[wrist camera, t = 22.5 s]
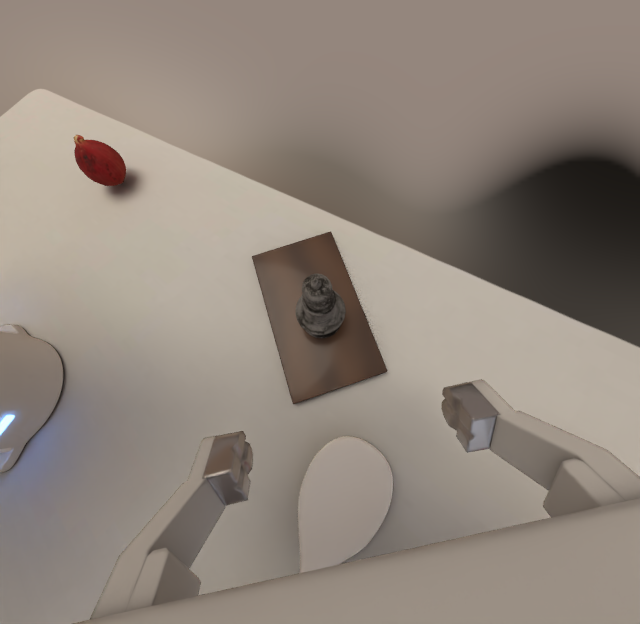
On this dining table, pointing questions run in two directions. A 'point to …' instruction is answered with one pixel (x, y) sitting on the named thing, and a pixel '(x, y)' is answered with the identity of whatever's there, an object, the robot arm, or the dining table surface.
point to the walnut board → (294, 342)
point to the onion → (99, 161)
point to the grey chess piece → (320, 307)
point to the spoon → (342, 502)
